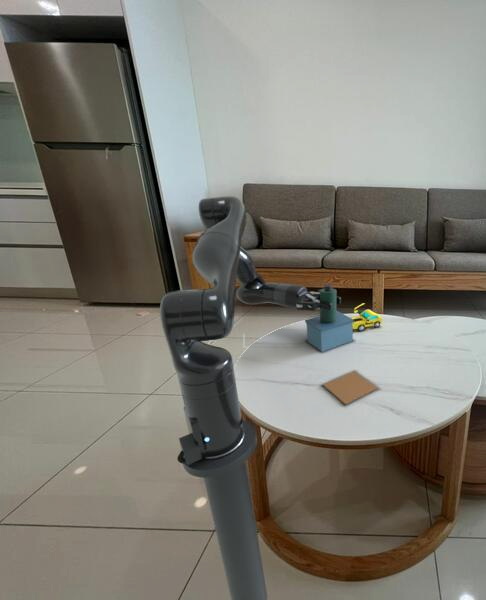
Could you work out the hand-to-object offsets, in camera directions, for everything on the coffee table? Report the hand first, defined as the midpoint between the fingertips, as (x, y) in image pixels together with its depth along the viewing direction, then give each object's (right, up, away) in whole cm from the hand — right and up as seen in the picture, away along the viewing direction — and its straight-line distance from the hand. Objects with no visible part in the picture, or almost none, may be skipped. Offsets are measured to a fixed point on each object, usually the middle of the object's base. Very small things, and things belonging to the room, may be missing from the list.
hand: (335, 303), depth 102 cm
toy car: (+8, -9, +17) cm, 21 cm away
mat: (+6, -22, -18) cm, 29 cm away
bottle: (-3, -5, +3) cm, 7 cm away
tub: (-3, -13, +6) cm, 14 cm away
